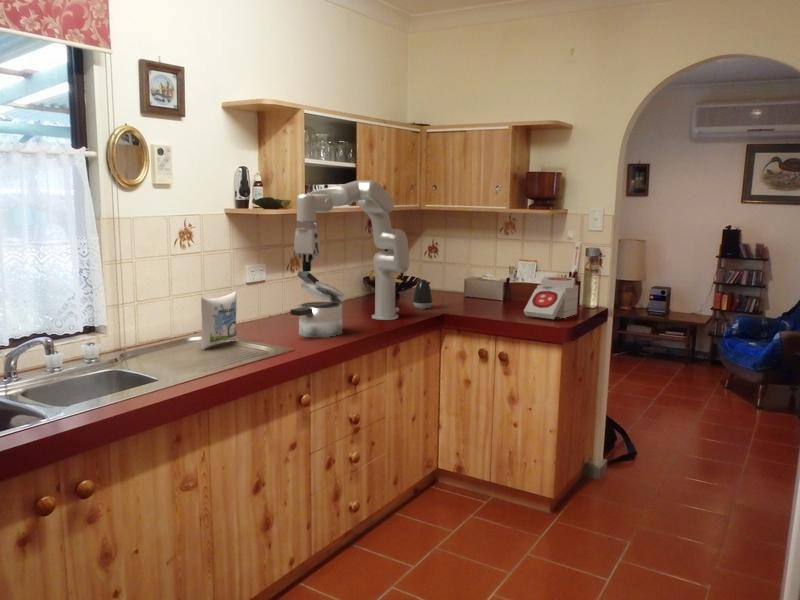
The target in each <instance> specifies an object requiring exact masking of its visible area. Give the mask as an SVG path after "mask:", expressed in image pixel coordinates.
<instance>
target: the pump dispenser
mask: <svg viewBox="0 0 800 600" xmlns="http://www.w3.org/2000/svg"><path fill="white" fill-rule="evenodd" d="M430 284H431V281H427V280H426V279H420V280H418V281H417V283H416V285H415V288H414V291H413V295H412V303H413V306H414V307H415V308H416V309H417V308H419V309H418V310H427V309H426V308H428V309H429V308H431V306H432V303H433V302H434V301H433V295H432V294H433V293H432V289H431V285H430Z"/></svg>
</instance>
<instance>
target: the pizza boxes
mask: <svg viewBox="0 0 800 600" xmlns="http://www.w3.org/2000/svg"><path fill="white" fill-rule="evenodd" d="M578 296H579V284H578V285H577V284H576V278H575V277H561V276H544V277H543V278H541V284H538V285H537V286H536V288H535V289H534V291H533V292H532V294H531V296H530V298H529V300H528V302H527V303H526V306H525V307H524V309H523V313H524V315H525V316H527V317H535V318H541V319H542V318H543V319H551V320H555V319H556V318H555V317H560V318H559V319H561V318H565V319H567V318H566V317H569V316H572V315H575V314H577V315H578V303H579V301H578V300H579V299H578V298H579V297H578ZM575 316H576V315H575ZM572 317H573V316H572ZM569 318H570V317H569Z"/></svg>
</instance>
